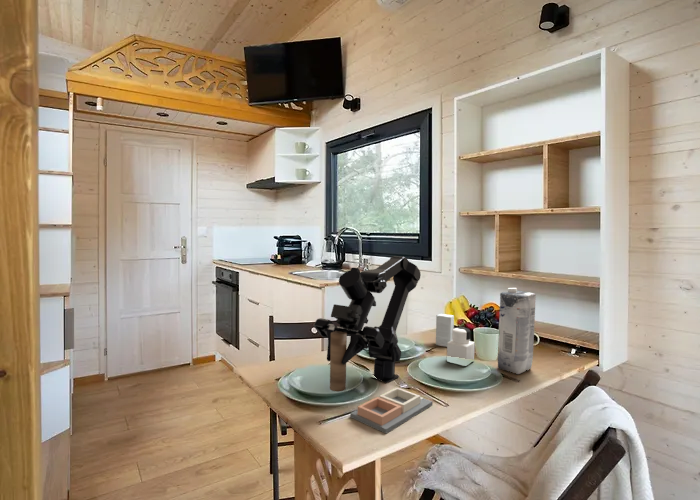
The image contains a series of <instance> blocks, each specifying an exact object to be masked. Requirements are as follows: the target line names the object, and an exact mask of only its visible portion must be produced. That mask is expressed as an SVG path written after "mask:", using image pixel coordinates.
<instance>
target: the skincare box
mask: <svg viewBox="0 0 700 500" xmlns="http://www.w3.org/2000/svg"><path fill="white" fill-rule="evenodd" d="M435 317H436V318H435V319H436V321H435V322H436V324H435V346H441V347H446V348H447V343H448V342H449V341H451V340H452V329H453V328H455V315H454V314H453V315H452V314H445V313H438V314H437V315H436V316H435Z"/></svg>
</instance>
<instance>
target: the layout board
mask: <svg viewBox="0 0 700 500" xmlns="http://www.w3.org/2000/svg"><path fill="white" fill-rule="evenodd" d="M433 403H434V402H433V400H429V399H426V398H424V397H423V396H422V397H421V395H419V394H416V393H414V392H412V391H411V392H410V391H408V390H406V389H403V388H400V387H397V386H396V387H394V388H392V389H391V390H388V391H386V392H384V393H383V394H380V395H379V397H378V396H376V397H374V398H372V399H370V400H368V401H366V402H364V403H362V404H360V405H358V406H357V409H355V410H354V411H352V412H350V418H352V419H353V420H355V421H358V422H359V423H362V424H364V425H367V426H369V427H371V428H373V429H375V430H378V431H380V432H382V433H384V434H388V433H389V432H391V431H392V430H394V429H396V428H398V427H400V426H401V425H402V424H404V423H406V422H408V421H410V420H411V419H412V418H414V417H416V416H417V415H419V414H421V413H422V412H424V411H426V410H427V409H429V408H430V407H432V406H433Z"/></svg>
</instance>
